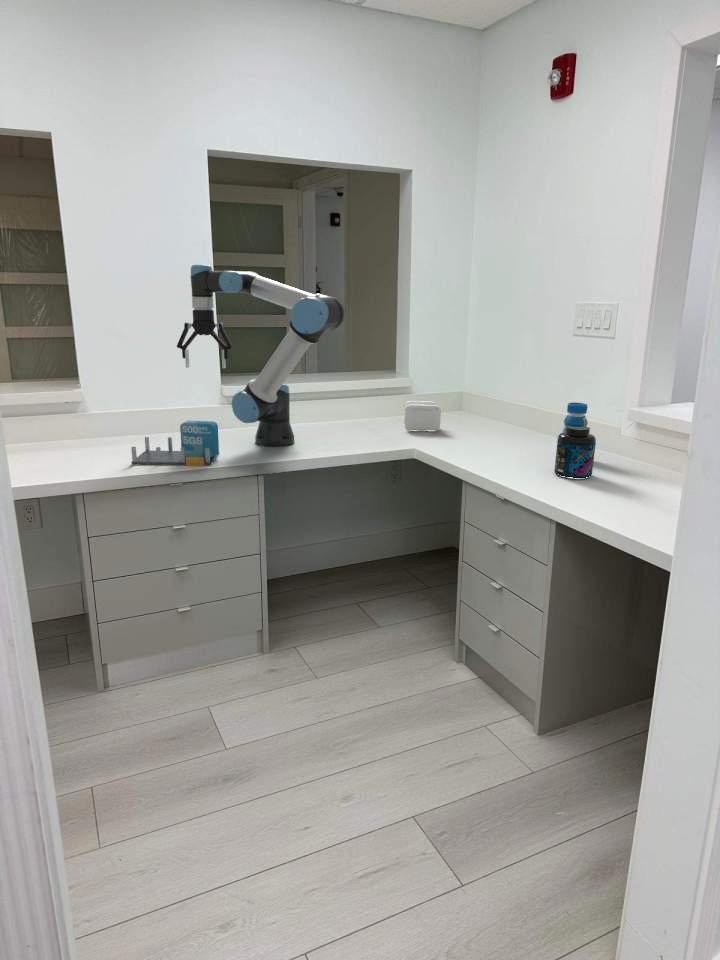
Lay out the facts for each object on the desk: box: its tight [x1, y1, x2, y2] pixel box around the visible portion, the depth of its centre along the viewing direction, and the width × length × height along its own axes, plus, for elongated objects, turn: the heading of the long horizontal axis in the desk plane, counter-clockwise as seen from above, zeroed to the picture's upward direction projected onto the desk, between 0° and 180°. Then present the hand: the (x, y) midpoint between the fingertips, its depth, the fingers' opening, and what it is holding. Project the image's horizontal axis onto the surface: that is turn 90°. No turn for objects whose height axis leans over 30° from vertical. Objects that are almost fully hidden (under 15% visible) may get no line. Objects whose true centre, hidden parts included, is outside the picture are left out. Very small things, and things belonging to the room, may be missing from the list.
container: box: [554, 425, 597, 478], centre depth 219 cm, size 12×12×16 cm
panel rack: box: [131, 436, 220, 467], centre depth 232 cm, size 26×17×6 cm, turn 91°
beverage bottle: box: [562, 401, 589, 432], centre depth 240 cm, size 8×8×20 cm
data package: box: [179, 420, 220, 458], centre depth 231 cm, size 12×4×12 cm, turn 83°
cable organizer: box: [403, 400, 442, 431], centre depth 286 cm, size 15×11×12 cm
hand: (205, 367), depth 250 cm, fingers open, 13 cm apart
